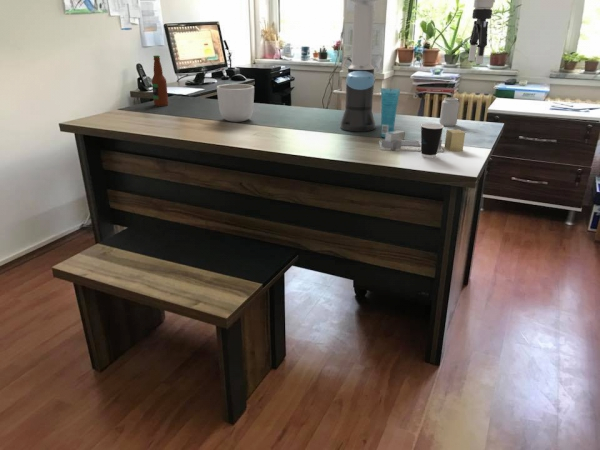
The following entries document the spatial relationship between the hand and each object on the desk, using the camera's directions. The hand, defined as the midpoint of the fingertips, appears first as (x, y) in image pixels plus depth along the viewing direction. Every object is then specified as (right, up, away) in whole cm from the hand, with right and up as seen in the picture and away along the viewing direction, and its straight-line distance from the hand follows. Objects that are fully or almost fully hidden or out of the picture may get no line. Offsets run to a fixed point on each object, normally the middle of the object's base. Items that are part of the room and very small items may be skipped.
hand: (475, 62), depth 214 cm
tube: (-40, -34, -9) cm, 53 cm away
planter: (-105, -21, +17) cm, 108 cm away
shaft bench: (-34, -40, -25) cm, 58 cm away
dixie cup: (-29, -46, -36) cm, 65 cm away
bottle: (-149, -6, +50) cm, 158 cm away
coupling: (-18, -42, -27) cm, 53 cm away
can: (-8, -25, +12) cm, 29 cm away
